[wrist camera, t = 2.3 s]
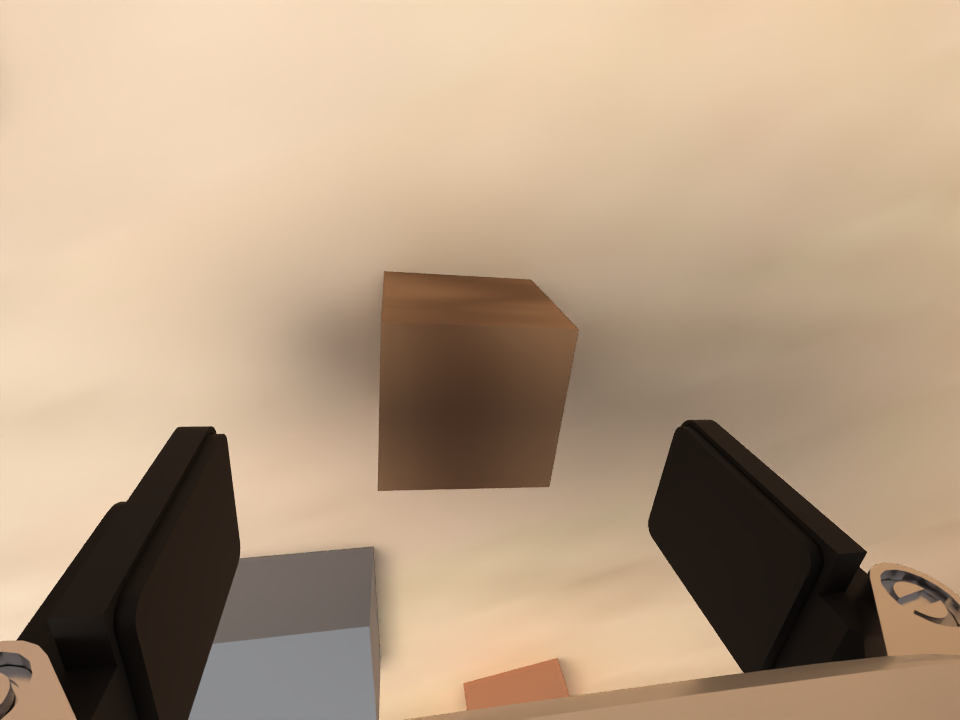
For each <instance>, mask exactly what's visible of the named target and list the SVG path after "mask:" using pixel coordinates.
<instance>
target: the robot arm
mask: <svg viewBox="0 0 960 720" xmlns="http://www.w3.org/2000/svg"><path fill="white" fill-rule="evenodd" d="M648 527H649V532H650V535H651V537H652V538H653V540H654V541H655V543H656V544H657V546H658V547H659V549H660V550H661V552H662V553H663V555H664V556H665V558H666V559H667V560H668V562H669V563H670V565H671V566H672V568H673V569H674V571H675V572H676V574H677V575H678V577H679V578H680V580H681V581H682V583H683V584H684V586H685V587H686V589H687V590H688V592H689V593H690V594H691V596H692V597H693V599H694V600H695V602H696V603H697V605H698V606H699V608H700V609H701V611H702V612H703V614H704V615H705V617H706V618H707V620H708V621H709V623H710V624H711V625H712V627H713V628H714V630H715V631H716V633H717V634H718V636H719V637H720V639H721V640H722V642H723V643H724V645H725V646H726V648H727V649H728V651H729V652H730V654H731V655H732V656H733V658H734V659H735V661H736V662H737V664H738V665H739V667H740V668H741V670H742V671H743V672H744V673H741V674H733V675H726V676H718V677H710V678H702V679H695V680H687V681H680V682H672V683H665V684H657V685H650V686H643V687H635V688H628V689H620V690H613V691H606V692H598V693H591V694H584V695H576V696H569V697H562V698H555V699H547V700H540V701H533V702H525V703H518V704H511V705H504V706H497V707H490V708H483V709H476V710H469V711H462V712H455V713H447V714H440V715H433V716H426V717H419V718H412V719H405V720H960V597H959V596H958V595H957V594H956V593H955V592H953V591H952V590H950V589H949V588H948V587H946V586H945V585H944V584H942V583H940V582H939V581H937V580H935V579H933V578H932V577H930V576H928V575H926V574H924V573H921V572H919V571H917V570H915V569H912V568H909V567H906V566H902V565H899V564H892V563H880V564H875V565H874V566H873V567H872V568H871V569H870V570H869V572H868V574H867V573H866V572H865V571H863V570H862V569H861V568H860V567H859V566H860V564H861V562H862V560H863V559H864V557H865V555H866V553H867V551H865V550H864V549H863V548H862V547H861V546H860V545H858V544H857V543H856V542H855V541H854V540H853V539H851V538H850V537H849V536H848V535H847V534H846V533H844V532H843V531H842V530H841V529H840V528H839V527H837V526H836V525H835V524H834V523H833V522H832V521H830V520H829V519H828V518H827V517H826V516H825V515H823V514H822V513H821V512H820V511H819V510H818V509H816V508H815V507H814V506H813V505H812V504H811V503H809V502H808V501H807V500H806V499H805V498H804V497H802V496H801V495H800V494H799V493H798V492H797V491H795V490H794V489H793V488H792V487H791V486H790V485H788V484H787V483H786V482H785V481H784V480H783V479H781V478H780V477H779V476H778V475H777V474H776V473H775V472H773V471H772V470H771V469H770V468H769V467H768V466H766V465H765V464H764V463H763V462H762V461H761V460H759V459H758V458H757V457H756V456H755V455H754V454H752V453H751V452H750V451H749V450H748V449H747V448H745V447H744V446H743V445H742V444H741V443H740V442H738V441H737V440H736V439H735V438H734V437H733V436H731V435H730V434H729V433H728V432H727V431H726V430H724V429H723V428H722V427H721V426H720V425H719V424H717V423H716V422H714V421H713V420H687V421H685V422H684V423H683V424H682V425H681V427H678V428H677V429H676V431H675V433H674V436H673V439H672V443H671V446H670V449H669V453H668V456H667V460H666V463H665V466H664V470H663V473H662V476H661V480H660V483H659V486H658V490H657V493H656V496H655V500H654V503H653V507H652V510H651V513H650V517H649V521H648ZM239 557H240V539H239V531H238V523H237V515H236V507H235V499H234V491H233V483H232V475H231V467H230V458H229V450H228V442H227V438H226V435H225V434H216V431H215V429H214V427H212V426H210V427H178V428H177V429H176V430H175V431H174V433H173V434H172V435H171V437H170V438H169V440H168V441H167V443H166V444H165V446H164V447H163V449H162V450H161V452H160V453H159V455H158V456H157V458H156V459H155V461H154V462H153V464H152V465H151V466H150V468H149V469H148V471H147V472H146V474H145V475H144V477H143V478H142V480H141V481H140V483H139V484H138V486H137V487H136V489H135V490H134V492H133V493H132V495H131V496H130V497H129V499H128V500H127V502H119V503H117V504H114V505H113V506H112V507H111V509H110V510H109V511H108V512H107V513H106V515H105V516H104V518H103V519H102V520H101V522H100V523H99V525H98V526H97V528H96V529H95V530H94V532H93V533H92V535H91V536H90V537H89V539H88V540H87V542H86V543H85V544H84V546H83V547H82V549H81V550H80V551H79V553H78V554H77V556H76V557H75V559H74V560H73V561H72V563H71V564H70V566H69V567H68V568H67V570H66V571H65V573H64V574H63V575H62V577H61V578H60V580H59V581H58V583H57V584H56V585H55V587H54V588H53V590H52V591H51V592H50V594H49V595H48V597H47V598H46V599H45V601H44V602H43V604H42V605H41V606H40V608H39V609H38V611H37V612H36V614H35V615H34V616H33V618H32V619H31V621H30V622H29V623H28V625H27V626H26V628H25V629H24V630H23V632H22V633H21V635H20V636H19V638H18V639H17V640H16V641H1V642H0V720H188V719H189V716H190V713H191V710H192V706H193V703H194V700H195V697H196V694H197V691H198V688H199V685H200V682H201V678H202V675H203V672H204V669H205V666H206V663H207V660H208V657H209V653H210V650H211V647H212V644H213V641H214V638H215V635H216V632H217V629H218V625H219V622H220V619H221V616H222V613H223V610H224V607H225V604H226V601H227V597H228V594H229V591H230V588H231V585H232V582H233V579H234V576H235V573H236V569H237V566H238V563H239Z"/></svg>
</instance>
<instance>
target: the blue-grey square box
mask: <svg viewBox="0 0 960 720" xmlns="http://www.w3.org/2000/svg"><path fill="white" fill-rule="evenodd" d="M379 697H380V644H379V628H378V613H377V597H376V582H375V567H374V551H373V547H364V548H353V549H342V550H330V551H319V552H308V553H297V554H285V555H274V556H263V557H252V558H240V559H239V563H238V566H237V569H236V573H235V576H234V579H233V582H232V585H231V588H230V591H229V594H228V597H227V601H226V604H225V607H224V610H223V613H222V616H221V619H220V622H219V625H218V629H217V632H216V635H215V638H214V641H213V644H212V647H211V650H210V653H209V657H208V660H207V663H206V666H205V669H204V672H203V675H202V678H201V682H200V685H199V688H198V691H197V694H196V697H195V700H194V703H193V706H192V710H191V713H190V716H189V719H188V720H379Z"/></svg>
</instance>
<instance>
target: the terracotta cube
mask: <svg viewBox="0 0 960 720" xmlns="http://www.w3.org/2000/svg"><path fill="white" fill-rule="evenodd" d="M464 690H465V698H466V705H467V711H469V710H476V709H483V708H490V707H497V706H504V705H511V704H518V703H525V702H533V701H540V700H547V699H555V698H562V697H569V694H568V690H567V687H566V684H565V681H564V678H563V675H562V671H561V668H560V665H559V662H558V659H557V658H556V659H552V660H549V661H545V662H541V663H537V664H534V665H530V666H526V667H523V668H519V669H515V670H511V671H508V672H504V673H500V674H497V675H493V676H489V677H485V678H482V679H478V680H474V681H471V682H467V683H464Z"/></svg>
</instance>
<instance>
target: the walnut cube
mask: <svg viewBox="0 0 960 720" xmlns="http://www.w3.org/2000/svg"><path fill="white" fill-rule="evenodd" d="M578 330H579V329H578V328H577V327H576V326H575V325H574V324H573V323H572V322H571V321H570V320H569V319H568V318H567V317H566V316H565V315H564V314H563V312H562V311H561V310H560V309H559V308H558V307H557V306H556V305H555V304H554V303H553V302H552V301H551V300H550V299H549V298H548V297H547V296H546V295H545V294H544V293H543V292H542V291H541V290H540V289H539V288H538V287H537V286H536V284H535V283H534V282H533V281H532V280H527V279H509V278H492V277H474V276H456V275H438V274H421V273H403V272H385V271H384V284H383V300H382V316H381V354H380V405H379V457H378V491H391V490H434V489H478V488H521V487H549V486H550V480H551V475H552V469H553V464H554V459H555V453H556V448H557V443H558V437H559V432H560V427H561V421H562V416H563V411H564V405H565V400H566V394H567V389H568V384H569V378H570V373H571V368H572V362H573V357H574V352H575V346H576V341H577V335H578Z"/></svg>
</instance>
